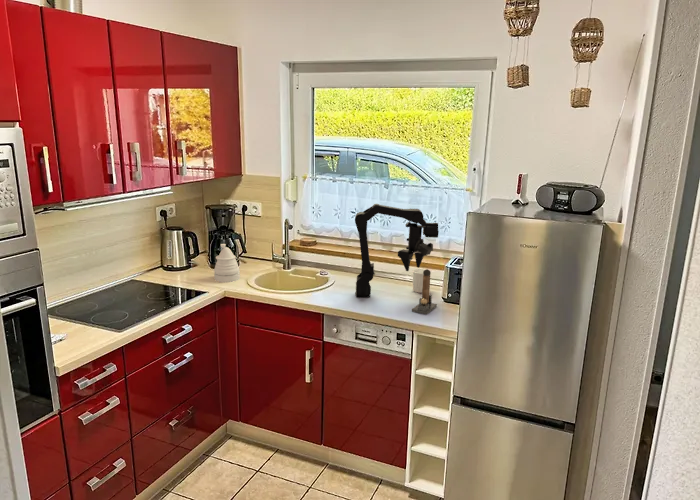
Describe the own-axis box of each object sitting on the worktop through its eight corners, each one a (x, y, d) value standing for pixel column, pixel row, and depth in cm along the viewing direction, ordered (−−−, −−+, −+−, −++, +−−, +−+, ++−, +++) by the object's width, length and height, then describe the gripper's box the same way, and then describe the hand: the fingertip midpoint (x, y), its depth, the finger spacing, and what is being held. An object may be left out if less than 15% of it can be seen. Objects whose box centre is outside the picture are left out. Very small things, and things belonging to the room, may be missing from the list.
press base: (411, 311, 228) (412, 298, 227) (422, 303, 239) (423, 290, 237) (426, 314, 225) (427, 300, 223) (437, 306, 235) (437, 293, 234)
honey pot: (209, 279, 269) (207, 245, 265) (227, 273, 280) (225, 241, 276) (227, 283, 263) (225, 249, 259) (245, 277, 273) (244, 244, 269)
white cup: (427, 293, 253) (428, 273, 250) (411, 292, 254) (411, 272, 252) (428, 288, 260) (429, 269, 258) (412, 287, 262) (413, 268, 259)
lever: (420, 303, 232) (421, 270, 228) (423, 300, 236) (425, 267, 232) (427, 304, 231) (428, 271, 227) (430, 302, 234) (432, 269, 230)
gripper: (419, 242, 229) (416, 276, 233) (440, 236, 243) (438, 269, 247) (398, 238, 236) (395, 271, 240) (420, 232, 250) (417, 264, 254)
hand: (412, 269), depth 245 cm, fingers open, 9 cm apart
